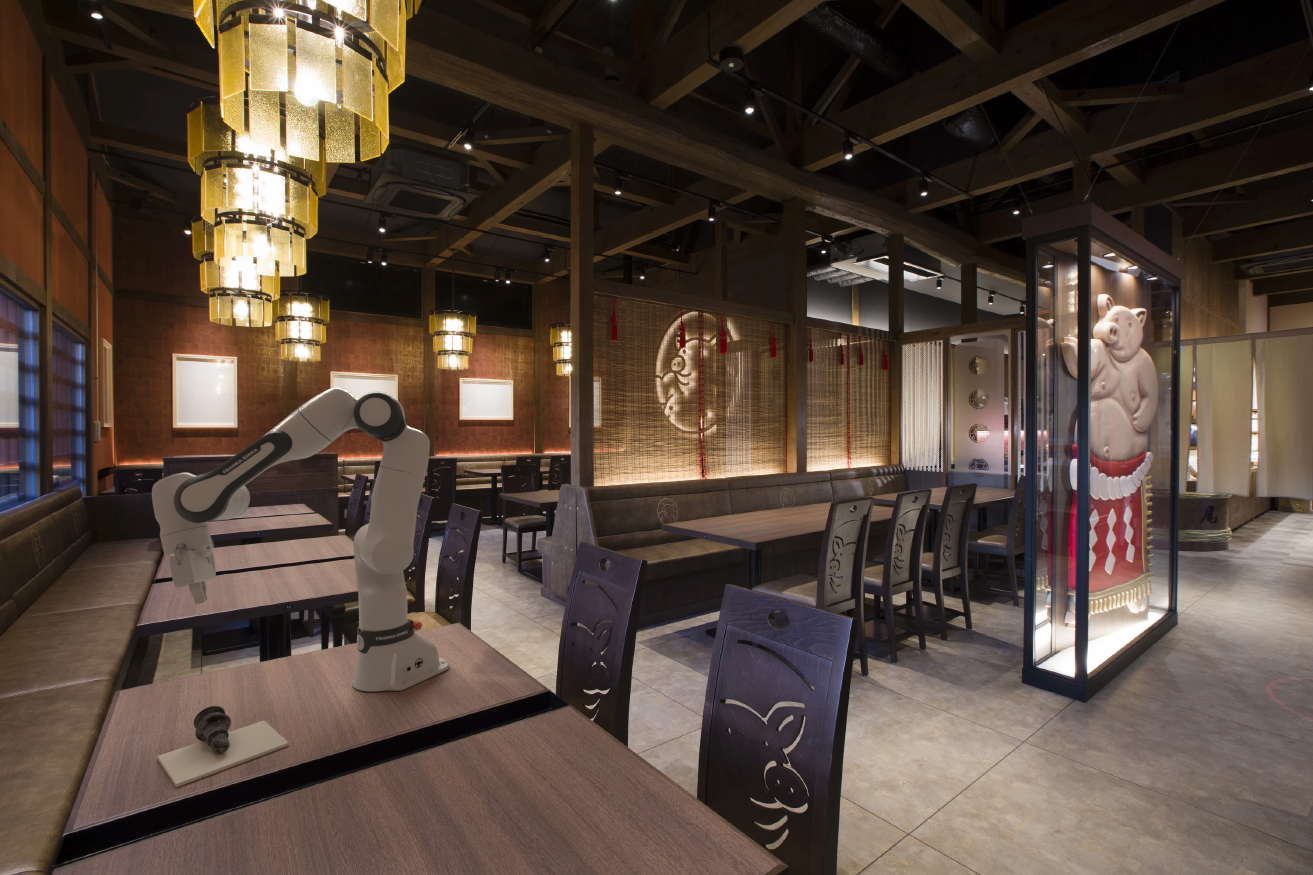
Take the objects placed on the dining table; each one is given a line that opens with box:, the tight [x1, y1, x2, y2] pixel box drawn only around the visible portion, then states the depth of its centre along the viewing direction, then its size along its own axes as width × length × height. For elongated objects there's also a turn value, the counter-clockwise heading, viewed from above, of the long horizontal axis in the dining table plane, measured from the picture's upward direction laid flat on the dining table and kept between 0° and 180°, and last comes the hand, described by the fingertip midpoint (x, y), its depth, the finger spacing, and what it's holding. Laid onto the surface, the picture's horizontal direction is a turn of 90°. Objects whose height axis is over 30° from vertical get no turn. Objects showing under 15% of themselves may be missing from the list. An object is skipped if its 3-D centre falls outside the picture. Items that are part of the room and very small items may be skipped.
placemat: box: [157, 720, 290, 788], centre depth 119 cm, size 18×14×1 cm
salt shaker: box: [193, 705, 232, 754], centre depth 120 cm, size 6×6×12 cm
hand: (201, 602), depth 138 cm, fingers closed
